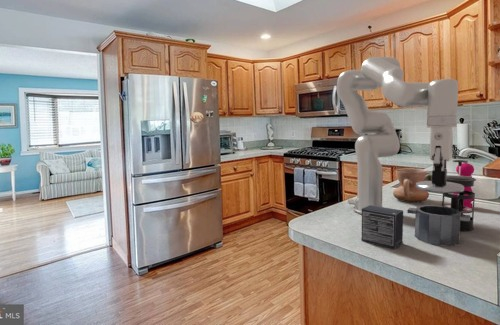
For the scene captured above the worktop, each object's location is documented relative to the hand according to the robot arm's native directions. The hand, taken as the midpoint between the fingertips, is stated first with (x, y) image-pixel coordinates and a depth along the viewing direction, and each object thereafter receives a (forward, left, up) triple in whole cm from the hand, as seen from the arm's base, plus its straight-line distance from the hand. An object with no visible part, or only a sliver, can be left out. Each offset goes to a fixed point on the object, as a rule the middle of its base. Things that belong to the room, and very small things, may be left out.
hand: (439, 182), depth 92 cm
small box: (-13, -12, -18) cm, 25 cm away
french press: (+4, +15, -18) cm, 24 cm away
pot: (0, 0, -18) cm, 18 cm away
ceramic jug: (-16, +44, -18) cm, 50 cm away
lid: (0, 0, -2) cm, 2 cm away
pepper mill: (+4, +43, -18) cm, 47 cm away
